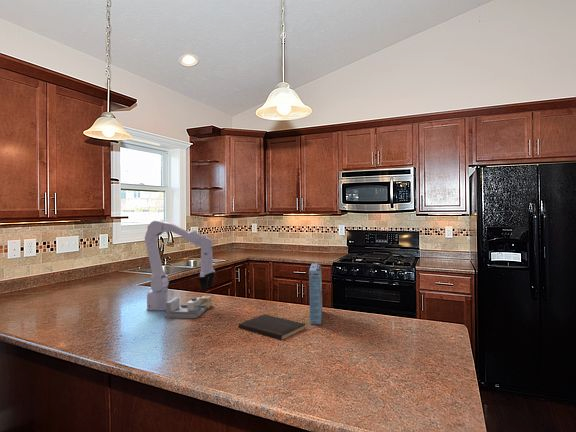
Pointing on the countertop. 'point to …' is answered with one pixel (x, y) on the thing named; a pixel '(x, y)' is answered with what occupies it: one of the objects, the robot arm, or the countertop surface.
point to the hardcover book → (272, 326)
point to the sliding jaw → (194, 304)
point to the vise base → (181, 310)
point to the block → (206, 301)
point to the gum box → (315, 293)
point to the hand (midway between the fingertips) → (207, 288)
